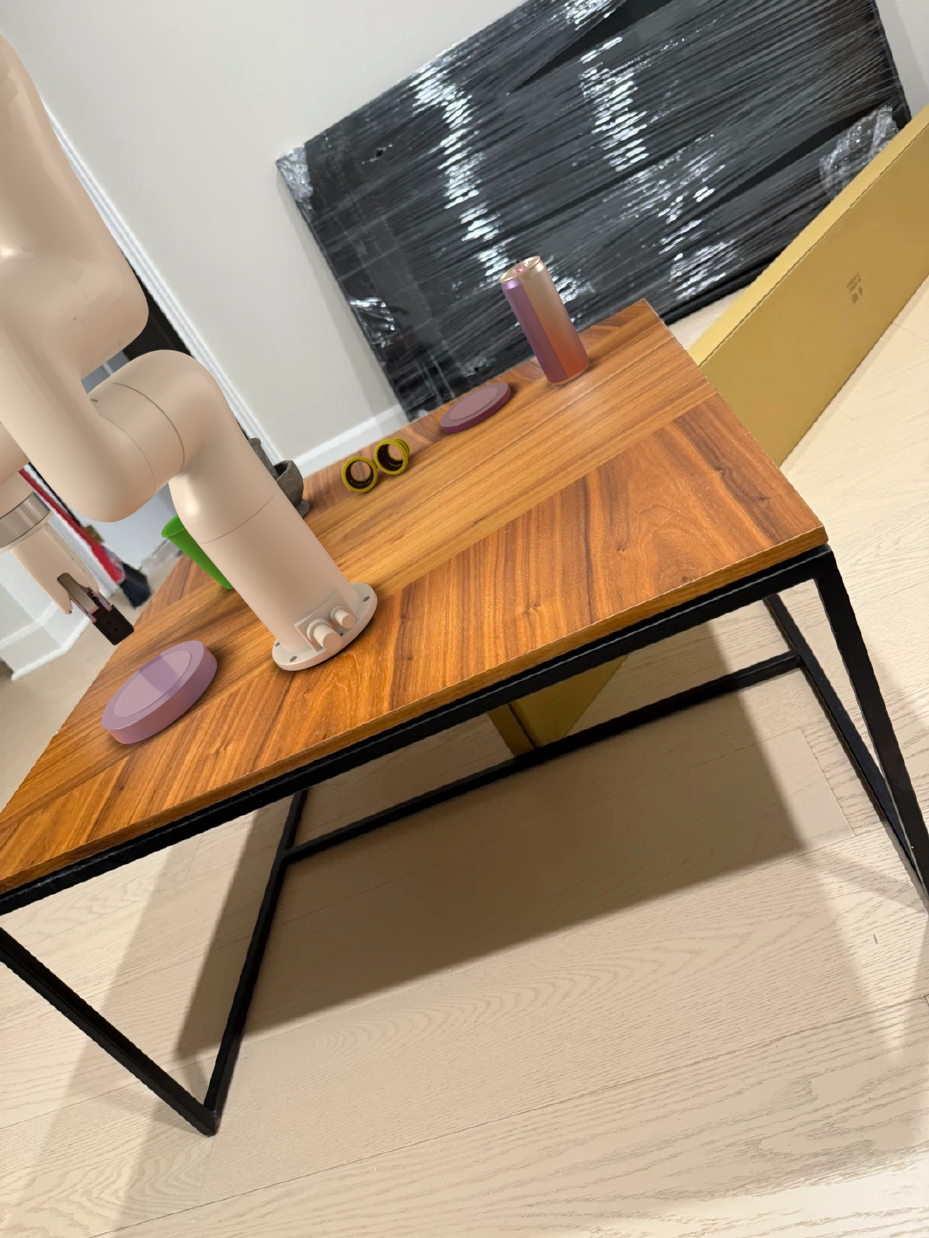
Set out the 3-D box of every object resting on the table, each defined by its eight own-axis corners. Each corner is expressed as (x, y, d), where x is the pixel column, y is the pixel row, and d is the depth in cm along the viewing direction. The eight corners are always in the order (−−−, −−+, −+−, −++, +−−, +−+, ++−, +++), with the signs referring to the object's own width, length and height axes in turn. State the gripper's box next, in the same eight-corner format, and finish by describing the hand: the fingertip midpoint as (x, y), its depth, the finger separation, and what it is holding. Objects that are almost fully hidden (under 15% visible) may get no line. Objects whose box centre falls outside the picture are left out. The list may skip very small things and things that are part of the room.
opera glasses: (418, 459, 118) (400, 427, 116) (414, 466, 113) (395, 434, 111) (359, 490, 120) (341, 460, 118) (353, 500, 115) (334, 468, 113)
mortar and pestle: (316, 515, 118) (265, 445, 113) (261, 546, 120) (209, 479, 114) (321, 486, 128) (275, 420, 122) (270, 515, 130) (222, 451, 124)
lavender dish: (229, 676, 92) (215, 661, 90) (123, 762, 89) (107, 747, 87) (203, 641, 103) (191, 627, 102) (109, 716, 100) (95, 702, 99)
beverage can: (548, 392, 109) (495, 286, 102) (551, 375, 114) (500, 272, 106) (590, 373, 106) (539, 263, 99) (592, 356, 111) (542, 250, 104)
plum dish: (525, 388, 115) (521, 381, 114) (466, 435, 112) (462, 429, 112) (486, 387, 124) (483, 381, 124) (430, 430, 122) (427, 424, 121)
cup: (253, 586, 109) (200, 520, 104) (203, 607, 113) (149, 544, 108) (277, 548, 116) (228, 484, 111) (229, 568, 120) (179, 508, 115)
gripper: (-10, 531, 102) (93, 639, 111) (-12, 555, 90) (105, 674, 99) (42, 494, 104) (140, 603, 113) (48, 513, 91) (158, 634, 100)
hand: (124, 636), depth 106 cm, fingers closed
